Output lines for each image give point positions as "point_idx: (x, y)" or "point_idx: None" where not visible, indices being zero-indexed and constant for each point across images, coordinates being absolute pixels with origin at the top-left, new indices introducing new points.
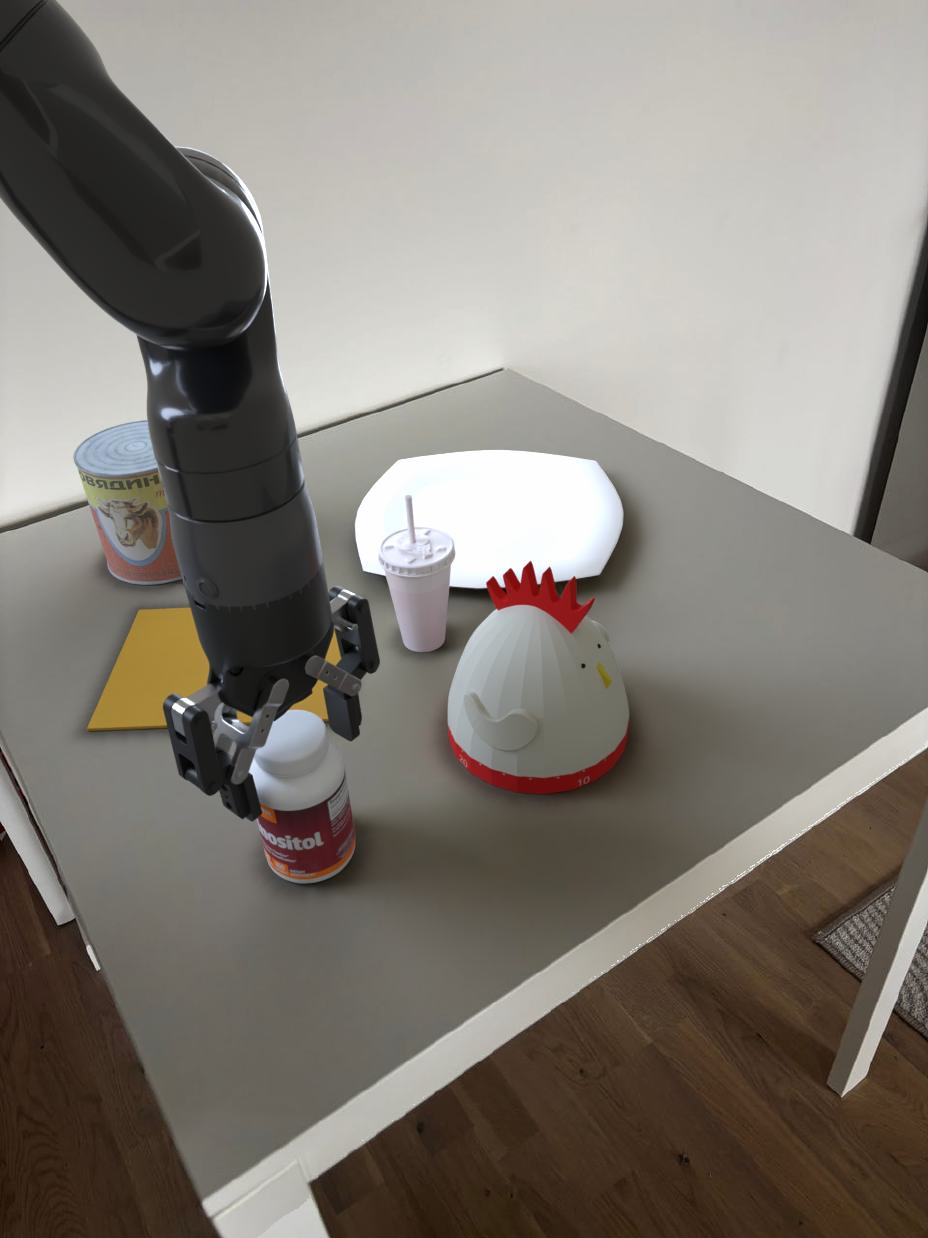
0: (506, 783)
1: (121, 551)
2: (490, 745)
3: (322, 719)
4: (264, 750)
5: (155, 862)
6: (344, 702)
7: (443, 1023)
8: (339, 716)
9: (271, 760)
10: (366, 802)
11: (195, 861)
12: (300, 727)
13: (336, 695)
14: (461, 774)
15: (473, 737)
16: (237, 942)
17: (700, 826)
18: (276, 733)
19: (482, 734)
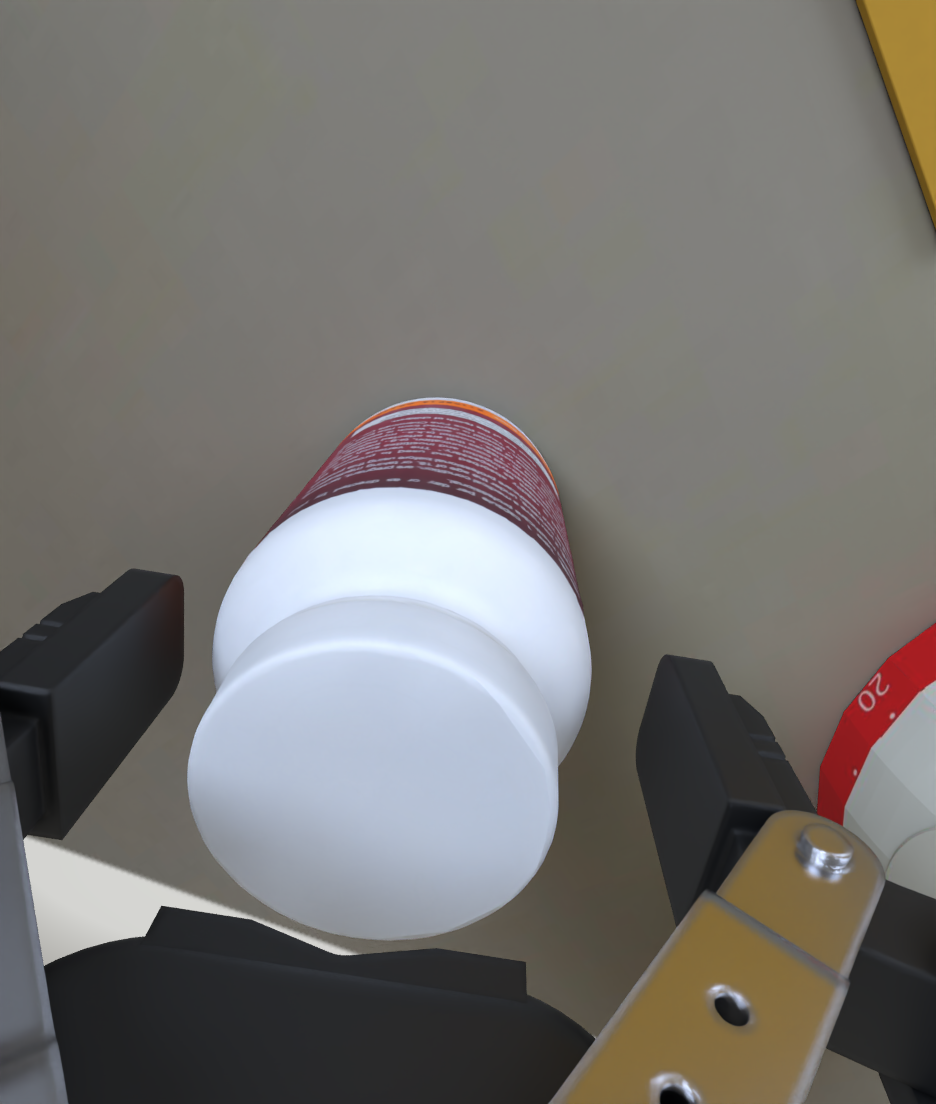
0: (826, 812)
1: None
2: (890, 861)
3: (933, 200)
4: (224, 773)
5: (165, 122)
6: (679, 916)
7: (262, 909)
8: (669, 782)
9: (199, 830)
10: (647, 538)
11: (241, 240)
12: (441, 823)
13: (705, 878)
14: (832, 692)
15: (915, 803)
16: (143, 517)
17: (844, 1087)
18: (342, 759)
19: (917, 857)
